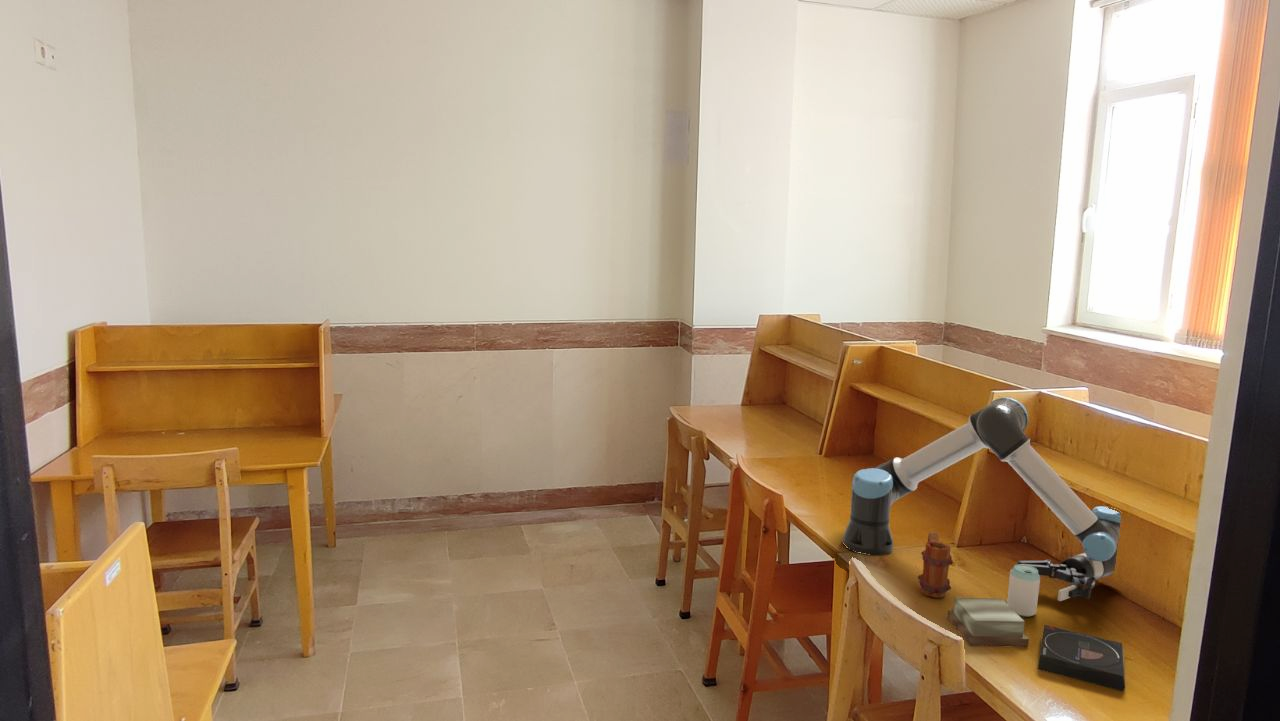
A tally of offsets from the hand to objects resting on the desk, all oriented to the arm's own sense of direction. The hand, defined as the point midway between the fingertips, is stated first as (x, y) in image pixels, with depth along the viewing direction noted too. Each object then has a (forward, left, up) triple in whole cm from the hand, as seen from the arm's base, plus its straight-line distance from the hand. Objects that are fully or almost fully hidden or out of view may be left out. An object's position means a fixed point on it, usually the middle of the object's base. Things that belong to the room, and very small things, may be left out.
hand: (1034, 585), depth 214 cm
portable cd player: (+26, -1, -8) cm, 27 cm away
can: (+1, -3, -7) cm, 8 cm away
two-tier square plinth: (+12, -17, -7) cm, 22 cm away
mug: (-11, -22, -7) cm, 26 cm away
